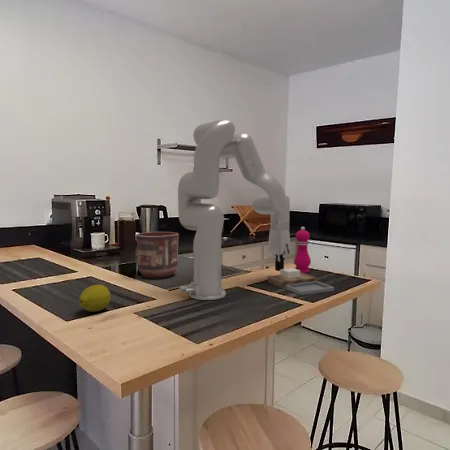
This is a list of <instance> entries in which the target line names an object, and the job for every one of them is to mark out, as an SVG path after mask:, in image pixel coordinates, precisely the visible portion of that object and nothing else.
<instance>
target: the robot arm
mask: <svg viewBox="0 0 450 450" xmlns="http://www.w3.org/2000/svg"><path fill="white" fill-rule="evenodd" d="M193 141H194V142H195V144H196V148H195V149H194V150H195V151H194V154H193V171H190V172H186V173H185V174H183V175H182V176H181V178H180V179H179V182H178V187H177V205H178V207H177V208H178V210H177V211H178V213H177V214H178V219H179V223H180V225H181V226H182V227H183V228H184V229H187V230H191V231H196V232H195V235H194V238H193V243H192V252H193V255H192V260H193V261H192V263H193V281H190V284H188V285H181V286H179V292H180V293H186V294H187V293H188V296H189V297H190V298H192V299H194V300H200V301H213V300H214V301H215V300H219V299H222V298H224V297H226V294H227V293H226V292H227V291H226V290H224V289H222V233H223V228H224V224H225V223H224V221H225V216H224V213H223V210H222V209H221V208H220V207H219V206H217V205H216V204H213V203H205V202H204V203H203V202H202V200H211V199H214V198H216V197H217V196H218V194H219V192H220V160H221V159H220V158H221V157H222V158H223V159H230V158H234V160H235V161H236V163H237V165H238V168H239V171H240V172H241V175H242V177H243V178H244V179H245V180H246V181H247V182H249V183H251V184H253V185H255V186H257V187H259V188H260V189H262V190H263V191H264V192H265V193H266V194H261V195H258V196H255V197H254V199H253V201H252V205H251V207H252V208H253V210H254V211H255V212H256V214H257V213H258V214H259V215H270V228H269V232H268V233H269V235H268V245H267V246H268V248H267V249H268V252H269V253H271V254H272V256H274V257H273V258H274V259H273V260H274V263H275V264H274V265H275V266H274V270H275V271H276V272H280V269H285V261H286V259H288V258H289V254H290V253H291V236H290V235H291V234H290V210H291V209H290V208H291V207H290V204H291V203H290V202H291V201H290V197H289V196H288V195H286V193H285V191H284V188H283V186H282V184H281V183H280V181H279V180H277V179H276V178H275V177H274V175H273V174H271V173H270V172H269V171H268V170H267V169H266V168H265V167H264V164H263V162H262V161H263V160H262V159H261V156H260V154H259V152H258V149H257V146H256V145H255V141H254V139H253V138H252V136H251V135H250V134H248V133H246V132H238V133H236V126H235V123H233V122H232V121H231V120H229V119H218V120H214V121H210V122H205V123H201V124H199V125H197V126H196V127H195V129H194V131H193Z"/></svg>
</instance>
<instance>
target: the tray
mask: <svg viewBox="0 0 450 450" xmlns="http://www.w3.org/2000/svg"><path fill="white" fill-rule="evenodd" d="M284 290H287V291H289V292H292V293H293V294H295V295H298V296H300V297H303V296H304V297H305V296H312V295H317V294H324V293H325V294H326V293H332V292H335V287H334V286H332V285H330V284H329V285H328V284H326V283H323V282H321V281H318V280H317V281H314V282H306V283H297V284H289V285H285V288H284Z"/></svg>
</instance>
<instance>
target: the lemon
mask: <svg viewBox="0 0 450 450" xmlns="http://www.w3.org/2000/svg"><path fill="white" fill-rule="evenodd" d="M111 297H112V296H111V292H110V290H109V288H108V287H106V286H105V285H103V284H93V285H90V286H88V287H86V288H84V290H82V292H81V293H80V296H79V299H78V303H79V305H80V306H81V308H82V309H83V310H85V311H87V312H92V313H95V312H100V311H102V310H104V309H105V308H107V306H109V304H110V302H111Z"/></svg>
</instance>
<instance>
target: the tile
mask: <svg viewBox="0 0 450 450" xmlns="http://www.w3.org/2000/svg"><path fill="white" fill-rule="evenodd" d="M279 272H280V273H279V275H281V276H283V277H286V278H296V277H300V270H297V269H295V267H291V268H290V267H288V268H284V269H280V271H279Z"/></svg>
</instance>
